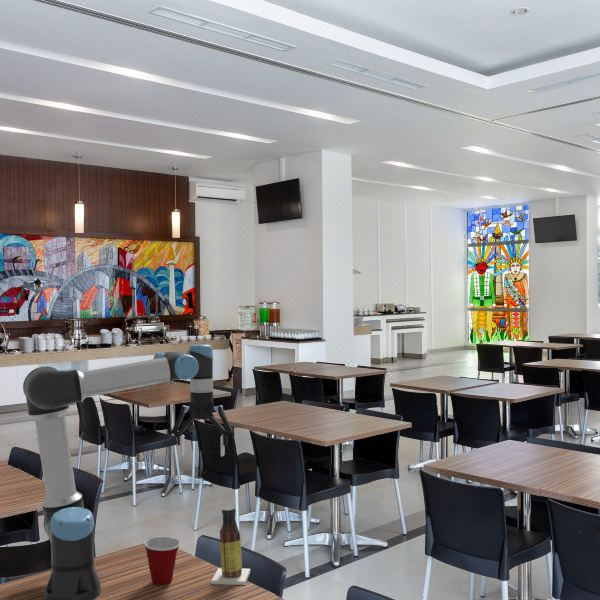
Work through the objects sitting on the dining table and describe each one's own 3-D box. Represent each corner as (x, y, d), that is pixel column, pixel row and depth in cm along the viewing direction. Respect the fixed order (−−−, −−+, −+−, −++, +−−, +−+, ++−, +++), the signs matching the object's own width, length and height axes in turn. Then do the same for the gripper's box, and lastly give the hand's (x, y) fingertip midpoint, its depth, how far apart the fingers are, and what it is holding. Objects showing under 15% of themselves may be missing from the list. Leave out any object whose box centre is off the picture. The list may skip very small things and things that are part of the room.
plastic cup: (172, 590, 201) (172, 548, 201) (138, 587, 203) (137, 546, 203) (186, 575, 211) (186, 536, 212) (153, 573, 214) (152, 534, 214)
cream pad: (211, 584, 205) (211, 580, 205) (218, 571, 215) (218, 567, 215) (244, 584, 204) (244, 581, 204) (250, 571, 214) (250, 568, 214)
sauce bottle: (246, 572, 210) (244, 507, 210) (233, 579, 205) (231, 512, 205) (229, 568, 214) (228, 504, 214) (216, 575, 209) (214, 509, 209)
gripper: (240, 389, 232) (241, 453, 232) (168, 389, 235) (168, 452, 235) (236, 392, 225) (237, 458, 225) (161, 392, 227) (162, 457, 227)
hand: (202, 455), depth 230 cm, fingers open, 13 cm apart
